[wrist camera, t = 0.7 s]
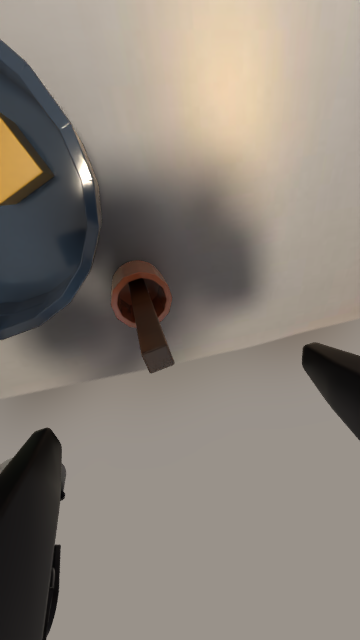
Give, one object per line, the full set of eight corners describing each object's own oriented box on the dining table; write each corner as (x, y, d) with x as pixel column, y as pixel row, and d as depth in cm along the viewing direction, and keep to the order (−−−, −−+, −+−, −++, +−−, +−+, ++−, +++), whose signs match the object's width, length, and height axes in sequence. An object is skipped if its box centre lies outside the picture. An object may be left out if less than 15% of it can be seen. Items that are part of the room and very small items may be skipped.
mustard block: (15, 204, 15) (-4, 206, 13) (-29, 154, 14) (-62, 145, 11) (55, 175, 15) (43, 172, 13) (14, 121, 14) (-9, 105, 11)
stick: (133, 296, 20) (150, 374, 11) (127, 282, 19) (140, 354, 11) (147, 290, 20) (175, 364, 11) (142, 277, 20) (167, 344, 11)
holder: (123, 315, 21) (125, 336, 18) (103, 270, 19) (101, 285, 16) (168, 298, 21) (178, 316, 18) (153, 252, 19) (161, 264, 16)
